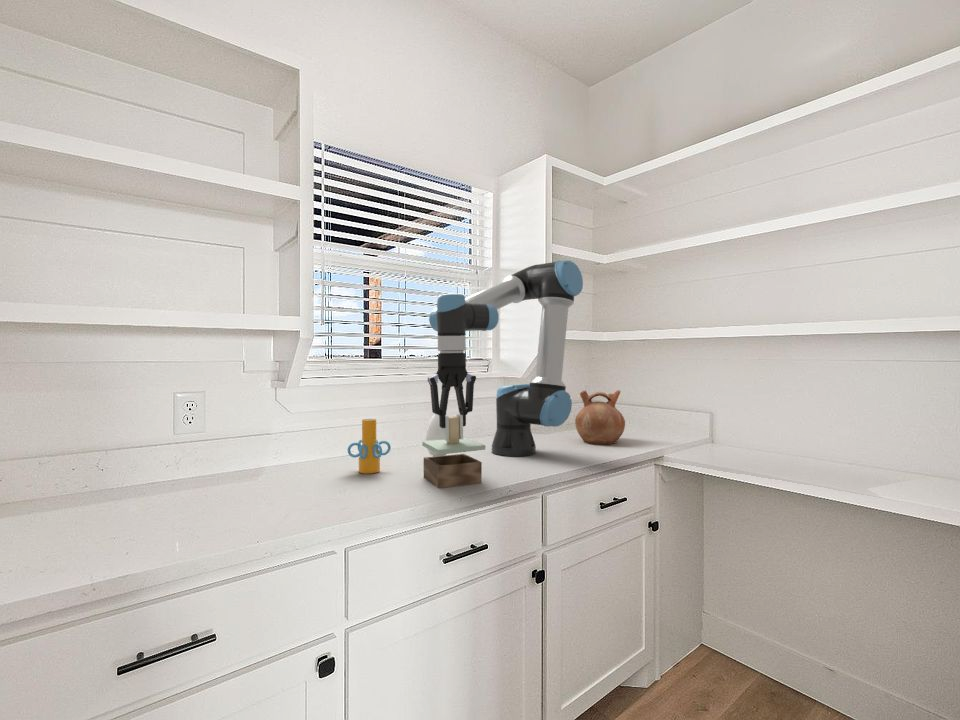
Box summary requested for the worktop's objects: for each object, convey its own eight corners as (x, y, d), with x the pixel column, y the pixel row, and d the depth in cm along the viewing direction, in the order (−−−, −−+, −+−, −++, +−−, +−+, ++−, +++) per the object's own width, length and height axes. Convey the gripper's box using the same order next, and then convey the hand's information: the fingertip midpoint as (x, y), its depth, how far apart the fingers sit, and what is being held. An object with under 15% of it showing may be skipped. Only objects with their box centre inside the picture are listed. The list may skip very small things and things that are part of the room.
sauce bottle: (441, 462, 157) (441, 404, 157) (421, 459, 161) (421, 403, 161) (455, 457, 164) (455, 402, 164) (435, 455, 168) (435, 401, 167)
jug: (623, 439, 199) (623, 388, 198) (626, 447, 181) (626, 392, 181) (576, 437, 203) (576, 387, 202) (574, 445, 185) (574, 391, 185)
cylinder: (378, 477, 138) (377, 423, 138) (342, 475, 140) (342, 422, 140) (394, 467, 150) (394, 417, 150) (361, 466, 152) (361, 416, 152)
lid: (465, 441, 144) (465, 412, 144) (485, 449, 132) (484, 418, 132) (422, 445, 139) (422, 416, 139) (438, 454, 127) (438, 422, 127)
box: (463, 472, 143) (463, 453, 143) (481, 482, 132) (481, 462, 132) (423, 477, 138) (423, 457, 138) (438, 488, 127) (438, 466, 127)
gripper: (474, 351, 142) (475, 434, 142) (418, 352, 135) (419, 439, 135) (485, 351, 135) (486, 438, 136) (427, 352, 128) (428, 444, 129)
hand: (453, 439), depth 136 cm, fingers closed on lid, 3 cm apart
